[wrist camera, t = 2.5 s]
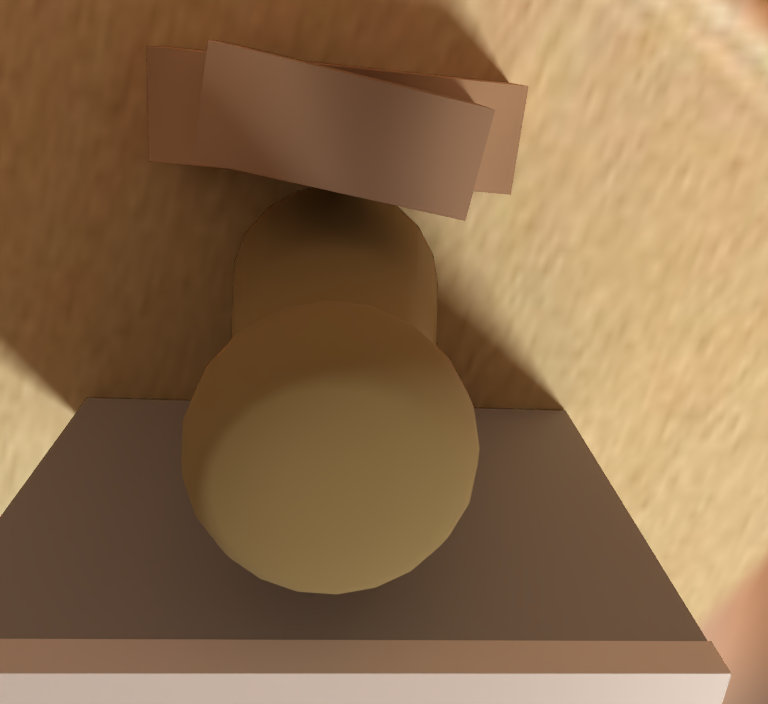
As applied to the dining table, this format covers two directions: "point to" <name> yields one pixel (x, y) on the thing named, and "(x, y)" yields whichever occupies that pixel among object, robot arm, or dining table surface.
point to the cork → (331, 403)
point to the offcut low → (186, 68)
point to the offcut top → (339, 130)
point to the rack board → (342, 611)
